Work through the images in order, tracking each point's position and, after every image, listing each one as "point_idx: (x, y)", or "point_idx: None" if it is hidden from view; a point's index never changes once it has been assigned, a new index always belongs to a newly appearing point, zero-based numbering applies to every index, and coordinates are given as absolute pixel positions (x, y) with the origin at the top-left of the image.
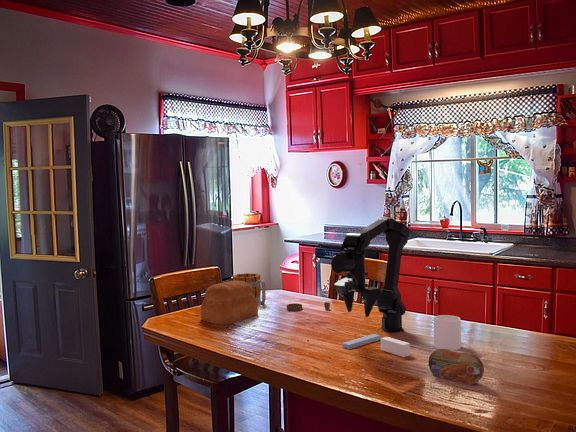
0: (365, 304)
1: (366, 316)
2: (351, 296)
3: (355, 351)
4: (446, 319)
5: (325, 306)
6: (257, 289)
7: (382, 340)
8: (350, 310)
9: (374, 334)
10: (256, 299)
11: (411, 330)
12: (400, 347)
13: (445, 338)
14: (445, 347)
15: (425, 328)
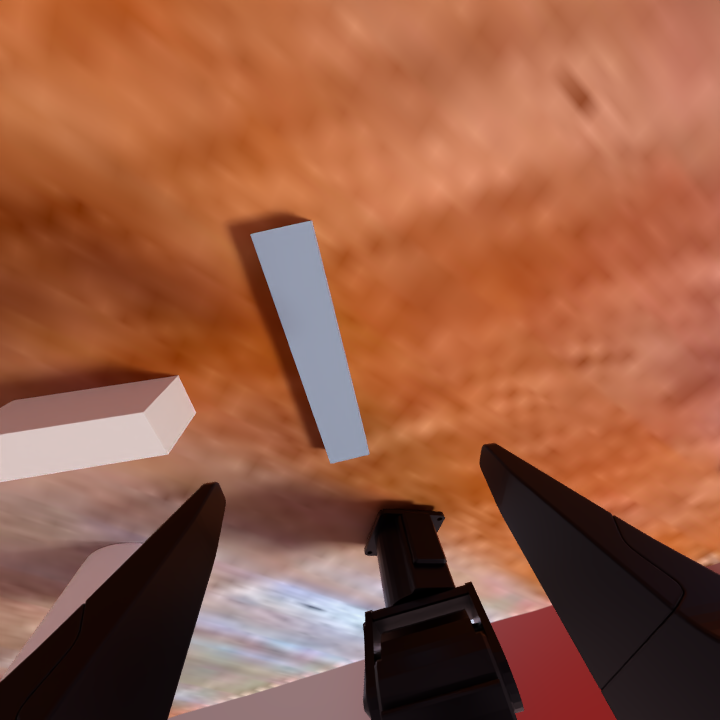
0: (17, 700)
1: (200, 489)
2: (628, 691)
3: (195, 239)
4: None
5: None
6: None
7: (130, 408)
8: (487, 470)
9: (358, 451)
10: None
11: (364, 563)
12: None
13: (53, 607)
14: (83, 564)
15: (357, 593)
